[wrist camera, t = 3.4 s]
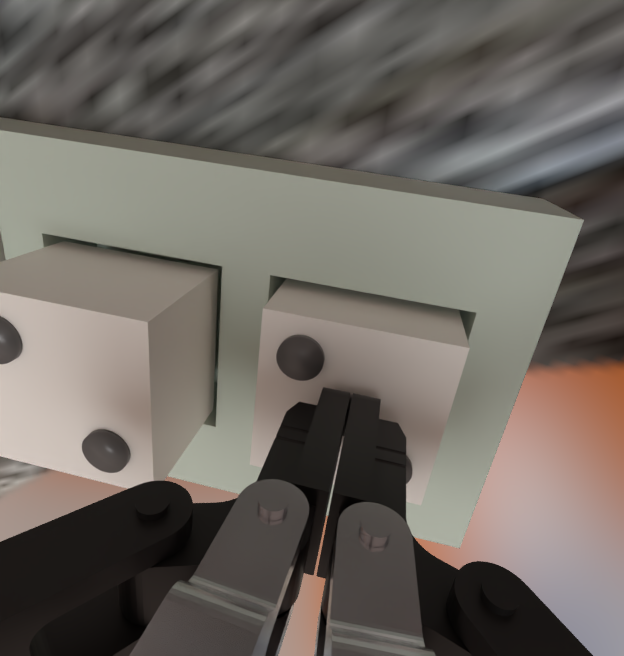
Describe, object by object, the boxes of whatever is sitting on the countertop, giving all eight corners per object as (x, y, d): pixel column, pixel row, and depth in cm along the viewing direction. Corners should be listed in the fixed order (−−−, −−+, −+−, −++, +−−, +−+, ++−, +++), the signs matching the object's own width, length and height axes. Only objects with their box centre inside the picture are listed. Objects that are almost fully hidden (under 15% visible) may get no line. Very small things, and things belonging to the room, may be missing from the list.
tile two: (63, 241, 14) (-65, 283, 10) (218, 269, 13) (143, 326, 9) (79, 379, 16) (-22, 456, 12) (213, 409, 15) (150, 500, 12)
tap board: (-114, 99, 16) (-238, 93, 13) (543, 198, 14) (583, 219, 10) (-49, 362, 21) (-128, 403, 18) (450, 475, 18) (459, 548, 15)
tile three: (298, 264, 15) (260, 311, 11) (453, 292, 14) (471, 351, 10) (283, 392, 17) (247, 469, 13) (418, 421, 16) (421, 510, 12)
